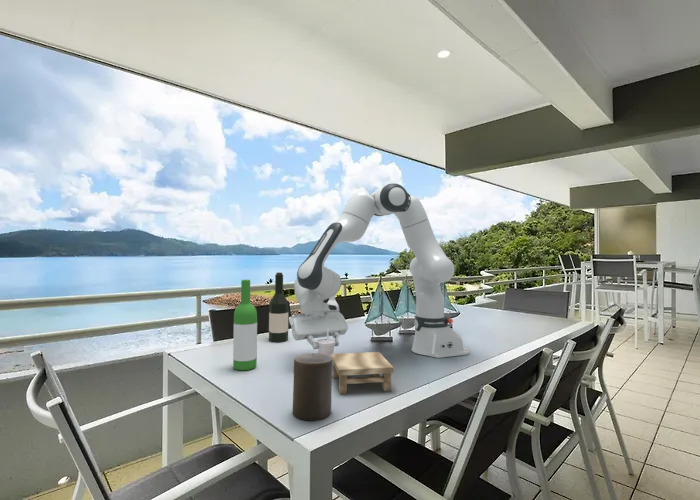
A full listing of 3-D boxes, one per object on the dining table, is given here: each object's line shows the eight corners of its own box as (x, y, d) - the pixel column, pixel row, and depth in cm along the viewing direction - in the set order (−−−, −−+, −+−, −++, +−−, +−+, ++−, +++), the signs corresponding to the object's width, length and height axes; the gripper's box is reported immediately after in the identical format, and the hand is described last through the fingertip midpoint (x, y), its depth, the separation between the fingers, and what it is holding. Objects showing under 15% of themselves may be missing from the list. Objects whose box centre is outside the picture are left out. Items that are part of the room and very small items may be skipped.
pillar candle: (310, 425, 87) (312, 360, 87) (284, 412, 93) (286, 352, 93) (339, 412, 94) (340, 352, 94) (313, 401, 100) (314, 345, 100)
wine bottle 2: (278, 337, 170) (279, 271, 170) (291, 340, 165) (292, 272, 165) (264, 340, 163) (265, 272, 163) (278, 343, 159) (278, 273, 158)
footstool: (378, 372, 123) (379, 351, 123) (393, 391, 108) (393, 367, 107) (330, 375, 120) (331, 353, 120) (338, 394, 105) (338, 370, 105)
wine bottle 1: (257, 363, 132) (258, 278, 131) (255, 370, 124) (256, 281, 124) (234, 364, 130) (235, 279, 130) (231, 371, 123) (232, 281, 122)
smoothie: (332, 373, 122) (333, 330, 122) (313, 371, 124) (314, 329, 123) (337, 367, 129) (337, 326, 128) (319, 365, 130) (319, 325, 130)
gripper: (289, 310, 127) (300, 345, 118) (342, 305, 137) (355, 338, 129) (285, 320, 130) (295, 355, 122) (336, 316, 141) (349, 347, 133)
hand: (326, 346), depth 125 cm, fingers closed on smoothie, 6 cm apart
